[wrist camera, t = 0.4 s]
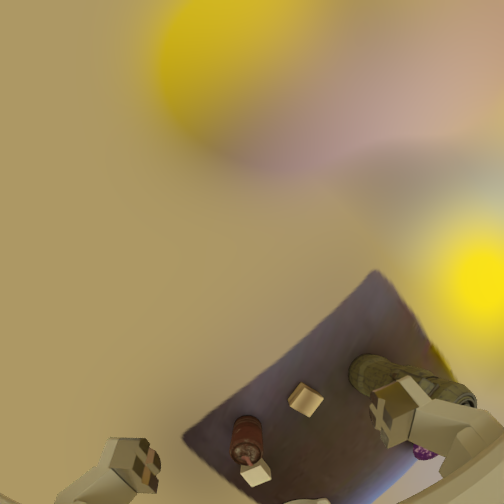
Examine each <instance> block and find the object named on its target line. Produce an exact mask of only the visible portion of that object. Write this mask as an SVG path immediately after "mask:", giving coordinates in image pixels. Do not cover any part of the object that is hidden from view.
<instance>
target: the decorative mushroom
mask: <svg viewBox="0 0 504 504" xmlns="http://www.w3.org/2000/svg"><path fill="white" fill-rule="evenodd" d="M413 453H414V455H415V457H416V458H417V459H419V460H428V459H432V458H434V457H435V456H437V455H439V454H436V453H434V452H432V451H430V450H427V449H425V448H423V447H421V446H419V445H416V444H414V446H413Z"/></svg>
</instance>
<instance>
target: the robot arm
mask: <svg viewBox="0 0 504 504" xmlns="http://www.w3.org/2000/svg"><path fill="white" fill-rule="evenodd" d="M370 400H371V401H372V404H371V405H370V407H369V413H370V418H371V421H372V423H373V425H374V427H375V429H378V430H380V431H381V434H380V437H381V439H382V441H383V443H384V444H385V446H386V448H387V449H388V448H391V447H393V446H395V445H397V444H400V443H402V442H404V441H406V440H408V441H410V442H412V443H414V444H416V445H419V446H421V447H423V448H425V449H427V450H430V451H432V452H434V453H436V454H439V455H441V456H444V457H446V458H445V460H444V462H443V463H442V465H441V467H440V470H439V473H440V474H441V476H442V477H443V479H441V480H440V481H438V482H437V483H435V484H433V485H431V486H430V487H428V488H426V489H424V490H423V491H421V492H419V493H417V494H415V495H413V496H411V497H410V498H407V499H406V500H403V501H401V502H400V503H397V504H504V427H503V426H502V425H501V424H500V423H499V422H498V421H497V420H496V419H495V418H494V417H493V416H492V415H491V414H490V413H489V412H488V411H486V410H481V409H477V408H472V407H468V406H463V405H459V404H455V403H451V402H447V401H443V400H439V399H433V400H431V399H430V397H429V396H428V395H427V394H426V393H425V392H424V391H423V390H422V389H421V387H420V386H419V385H418V384H417V383H416V382H415V381H414V380H413V379H412V378H411V376H408V375H407V376H405V377H403V378H401V379H399V380H396V381H394V382H392V383H389V384H387V385H385V386H382V387H380V388H378V389H375V390H373V391H371V393H370ZM149 446H150V443H149V442H148V441H147V439H145V438H117V437H114V438H113V437H110V438H109V439H107V442H106V444H105V447H104V449H103V452H102V455H101V457H100V460H99V463H98V465H97V467H93V468H92V469H91V470H89V471H88V472H86V473H85V474H84V475H83V476H81V477H80V478H79V479H77V480H76V481H75V482H73V483H72V484H71V485H69V486H68V487H67V488H66V489H64V490H63V491H61V492H60V493H59V494H58V495H57V497H56V501H55V503H54V504H129V503H130V502H131V501H132V500H133V498H134V497H135V496H136V495H137V493H152V494H156V493H157V487H158V479H157V477H156V475H157V474H158V473H159V472H160V469H161V462H160V458H159V456H158V454H157V453H156V451H155V450H153V449H151V448H150V447H149ZM0 504H20V503H18V502H16V501H14V500H12V499H10V498H8V497H6V496H5V495H3V494H1V493H0ZM284 504H331V503H330V502H329V500H328V499H327V498H320V499H316V500H310V499H300V500H294V501H290V502H287V503H284Z"/></svg>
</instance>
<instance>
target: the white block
mask: <svg viewBox="0 0 504 504" xmlns="http://www.w3.org/2000/svg"><path fill="white" fill-rule="evenodd" d="M240 474H241V475H242V476H243V477H244V479H245V480H246V481H247V482H248V483H249V485H250V486H251V487H254V486H256V485H259V484H261V483H264V482H266V481H269V480H271V469H270V468H269V467H268V465H267V464H266V463H265V461H264V460H263V459H262V458H261V459H260V460H259V461H258V462H257V463H255V464H254V465H253V466H244V465H241V471H240Z"/></svg>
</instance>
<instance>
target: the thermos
mask: <svg viewBox="0 0 504 504" xmlns="http://www.w3.org/2000/svg"><path fill="white" fill-rule="evenodd" d="M407 375H408V376H411V378H412V379H413V380H414V381H415V382H416V383H417V384H418V385H419V386H420V387H421V389H422V390H423V391H424V392H425V393H426V394H427V395H428V396H429V397H430V399H431V400H433V399H439V400H443V401H447V402H451V403H455V404H459V405H463V406H468V407H472V408H477V400H476V397H475V395H473V393H472V392H471V391H470V390H469V389H468V388H467V387H466V386H465V385H463V384H460V383H456V382H452V381H449V380H445V379H442V378H438V377H436V376H435V375H434V374H433V373H432V372H430V371H428V370H425V369H421V368H417V367H414V366H410V365H406V366H401V365H398V364H395V363H392V362H390V361H388V360H387V359H386V358H384V357H381V356H378V355H372V354H364V355H361V356H359V357H358V358H356V359H355V360H354V361H353V362H352V364H351V366H350V368H349V373H348V377H349V381H350V383H351V385H352V386H354V387H355V388H356V389H357V390H358V391H359V392H361V393H362V394H364V395H366V396H369V397H370V393H371V391H373V390H375V389H378V388H380V387H382V386H385V385H387V384H389V383H392V382H394V381H396V380H399V379H401V378H403V377H405V376H407Z"/></svg>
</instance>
